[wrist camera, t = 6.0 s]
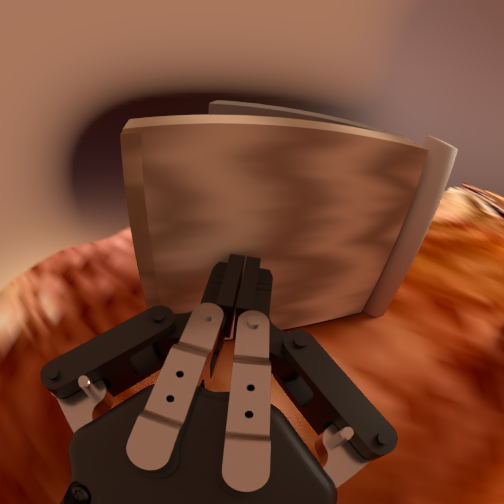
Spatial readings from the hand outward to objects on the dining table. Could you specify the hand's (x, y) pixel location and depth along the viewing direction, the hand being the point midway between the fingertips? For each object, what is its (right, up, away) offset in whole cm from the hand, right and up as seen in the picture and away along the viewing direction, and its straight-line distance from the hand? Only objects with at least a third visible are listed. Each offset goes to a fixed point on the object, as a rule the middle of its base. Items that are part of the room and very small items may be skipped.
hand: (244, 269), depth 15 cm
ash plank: (+1, -4, +6) cm, 7 cm away
